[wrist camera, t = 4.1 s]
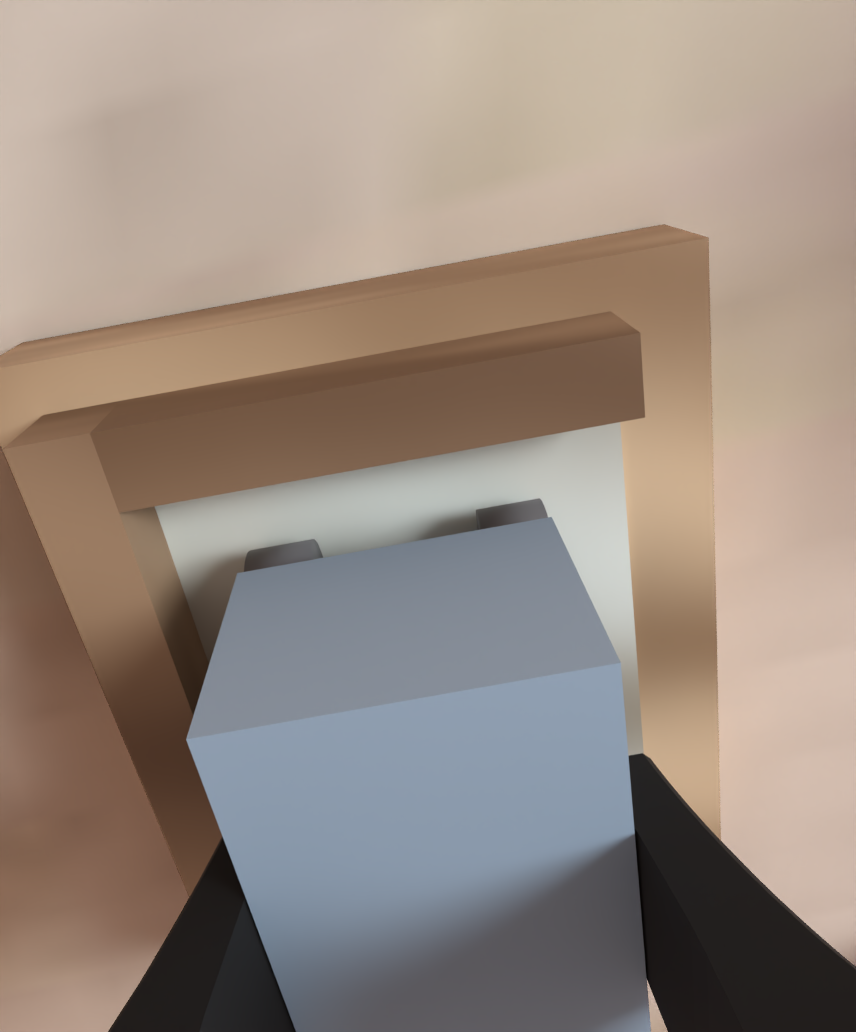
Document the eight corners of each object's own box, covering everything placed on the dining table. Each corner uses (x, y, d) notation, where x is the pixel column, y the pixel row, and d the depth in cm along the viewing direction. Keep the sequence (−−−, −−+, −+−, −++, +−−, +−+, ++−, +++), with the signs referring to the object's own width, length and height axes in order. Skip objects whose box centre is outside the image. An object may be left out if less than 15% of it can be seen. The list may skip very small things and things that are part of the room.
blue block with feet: (571, 797, 16) (654, 1069, 11) (342, 838, 16) (330, 1125, 12) (532, 475, 13) (620, 662, 8) (252, 525, 13) (185, 739, 9)
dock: (689, 831, 20) (750, 964, 16) (240, 909, 20) (215, 1056, 17) (664, 224, 14) (751, 250, 11) (22, 342, 14) (-81, 403, 11)
